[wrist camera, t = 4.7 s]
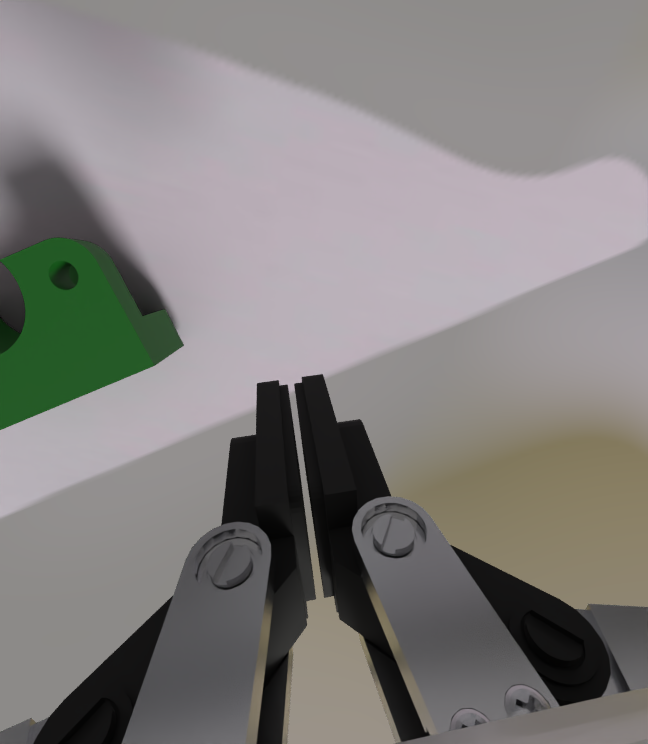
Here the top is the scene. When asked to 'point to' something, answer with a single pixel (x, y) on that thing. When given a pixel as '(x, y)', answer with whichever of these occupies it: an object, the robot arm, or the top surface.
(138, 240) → the top surface
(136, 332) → the clamp
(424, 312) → the top surface
